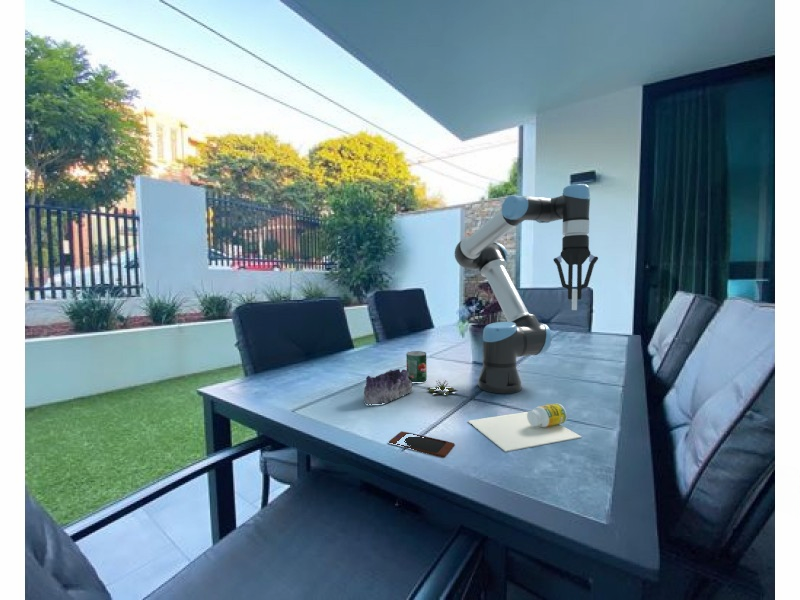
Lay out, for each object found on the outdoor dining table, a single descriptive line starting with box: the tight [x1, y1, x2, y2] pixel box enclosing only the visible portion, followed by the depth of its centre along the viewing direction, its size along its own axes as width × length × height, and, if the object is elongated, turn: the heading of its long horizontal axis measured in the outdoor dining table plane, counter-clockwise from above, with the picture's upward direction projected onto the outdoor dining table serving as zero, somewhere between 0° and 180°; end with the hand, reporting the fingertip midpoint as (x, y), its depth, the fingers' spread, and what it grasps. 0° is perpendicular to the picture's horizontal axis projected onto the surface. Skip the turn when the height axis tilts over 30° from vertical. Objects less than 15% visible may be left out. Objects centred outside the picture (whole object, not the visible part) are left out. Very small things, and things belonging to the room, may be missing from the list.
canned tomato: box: [406, 350, 428, 382], centre depth 138 cm, size 8×8×11 cm
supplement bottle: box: [527, 403, 568, 427], centre depth 94 cm, size 5×5×10 cm
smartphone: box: [388, 431, 456, 459], centre depth 86 cm, size 7×1×15 cm
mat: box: [467, 411, 583, 453], centre depth 93 cm, size 22×18×1 cm
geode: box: [363, 368, 413, 405], centre depth 119 cm, size 20×12×10 cm, turn 145°
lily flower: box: [427, 379, 455, 396], centre depth 125 cm, size 12×12×5 cm
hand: (574, 309), depth 113 cm, fingers closed
